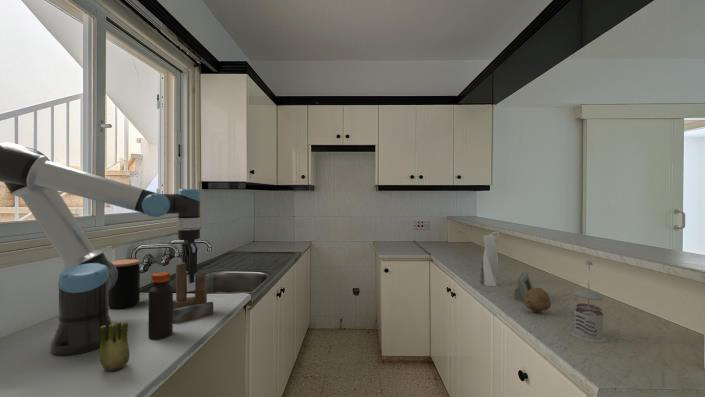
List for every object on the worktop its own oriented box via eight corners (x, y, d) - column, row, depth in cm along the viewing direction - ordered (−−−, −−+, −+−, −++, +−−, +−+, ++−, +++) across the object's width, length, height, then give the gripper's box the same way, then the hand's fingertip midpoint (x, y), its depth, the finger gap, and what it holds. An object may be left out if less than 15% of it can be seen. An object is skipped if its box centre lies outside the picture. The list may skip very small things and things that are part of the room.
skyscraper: (496, 283, 172) (497, 231, 172) (500, 287, 164) (501, 233, 164) (479, 282, 173) (480, 231, 173) (483, 286, 165) (483, 232, 165)
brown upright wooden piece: (204, 309, 124) (204, 263, 123) (174, 311, 122) (173, 264, 121) (207, 306, 128) (206, 261, 127) (177, 308, 125) (176, 262, 125)
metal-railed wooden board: (172, 323, 114) (172, 310, 114) (164, 313, 124) (164, 301, 124) (213, 314, 123) (213, 302, 123) (203, 305, 133) (203, 294, 133)
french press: (598, 345, 100) (600, 265, 100) (558, 331, 110) (560, 259, 110) (612, 338, 105) (613, 262, 105) (572, 325, 115) (573, 256, 115)
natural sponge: (556, 315, 125) (557, 290, 125) (539, 318, 122) (540, 292, 122) (536, 307, 134) (536, 284, 134) (520, 310, 131) (520, 285, 131)
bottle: (175, 335, 105) (176, 274, 105) (152, 342, 100) (152, 277, 100) (168, 329, 109) (168, 270, 109) (145, 335, 104) (145, 274, 104)
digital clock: (529, 304, 138) (529, 280, 138) (507, 299, 144) (508, 276, 144) (542, 297, 149) (542, 274, 149) (521, 292, 155) (521, 270, 155)
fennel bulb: (97, 373, 82) (97, 326, 82) (111, 363, 87) (111, 319, 87) (119, 373, 82) (119, 326, 82) (132, 363, 87) (132, 319, 87)
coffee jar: (144, 304, 134) (144, 261, 134) (115, 311, 125) (115, 265, 125) (132, 299, 140) (132, 258, 140) (103, 306, 131) (103, 262, 131)
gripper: (206, 230, 119) (206, 292, 119) (193, 226, 133) (193, 282, 133) (184, 231, 114) (184, 296, 115) (173, 227, 128) (173, 285, 128)
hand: (189, 289), depth 124 cm, fingers closed on brown upright wooden piece, 5 cm apart
